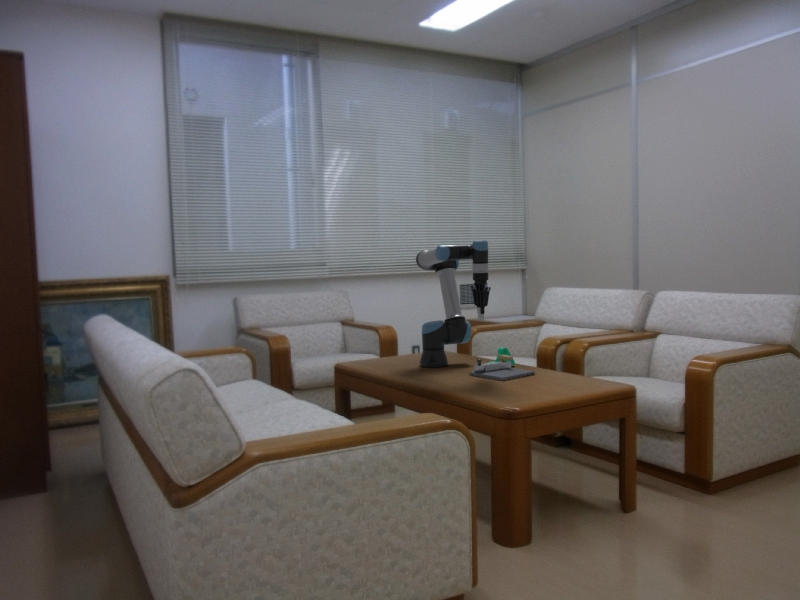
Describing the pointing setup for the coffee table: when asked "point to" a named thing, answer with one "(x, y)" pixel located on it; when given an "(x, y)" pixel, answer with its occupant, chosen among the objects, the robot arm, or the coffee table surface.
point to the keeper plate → (503, 371)
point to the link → (491, 366)
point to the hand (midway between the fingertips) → (481, 320)
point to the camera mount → (503, 352)
